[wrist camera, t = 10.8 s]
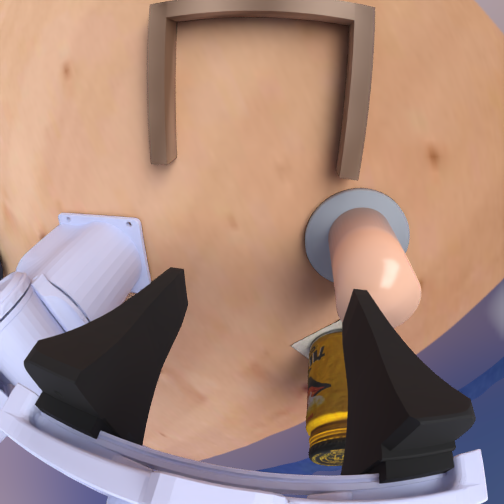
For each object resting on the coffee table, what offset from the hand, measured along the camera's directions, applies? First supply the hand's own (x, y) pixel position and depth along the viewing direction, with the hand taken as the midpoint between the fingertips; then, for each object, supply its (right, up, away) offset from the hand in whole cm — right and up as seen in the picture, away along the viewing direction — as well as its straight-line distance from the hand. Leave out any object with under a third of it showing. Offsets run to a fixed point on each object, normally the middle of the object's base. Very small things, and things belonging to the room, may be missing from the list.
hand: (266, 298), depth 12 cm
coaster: (+7, +3, +9) cm, 12 cm away
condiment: (+9, -7, +15) cm, 19 cm away
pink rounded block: (+7, +2, +9) cm, 11 cm away
